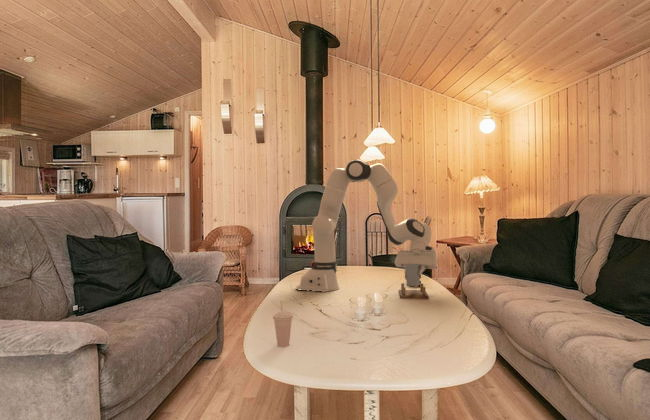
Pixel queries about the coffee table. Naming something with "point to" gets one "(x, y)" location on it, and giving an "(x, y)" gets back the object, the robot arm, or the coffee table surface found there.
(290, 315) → the smoothie
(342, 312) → the coffee table surface
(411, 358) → the coffee table surface
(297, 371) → the coffee table surface
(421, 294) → the stand
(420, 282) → the end cap
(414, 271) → the slate block
